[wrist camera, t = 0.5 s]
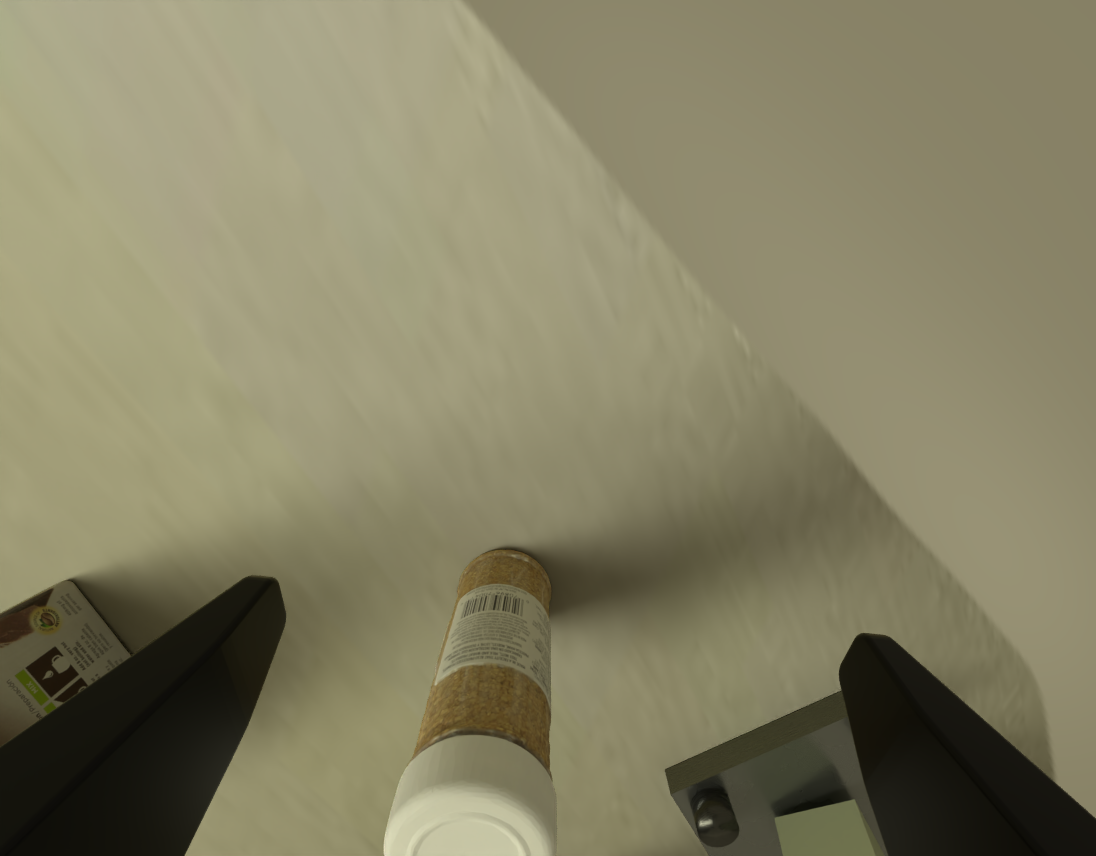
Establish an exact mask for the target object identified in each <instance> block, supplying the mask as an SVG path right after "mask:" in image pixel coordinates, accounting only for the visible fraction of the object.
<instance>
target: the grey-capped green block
mask: <svg viewBox="0 0 1096 856" xmlns="http://www.w3.org/2000/svg"><path fill="white" fill-rule="evenodd" d="M775 823H776V827H777V832H778V836H779V840H780V845H781V849H782V854H783V856H885V855H884V853H883V852H882V850H881V848H880V846H879V844H878V842H877V840H876V838H875V837H874V835H873V833H872V831H871V829H870V827H869V825H868V824H867V822H866V820H865V818H864V816H863V814H862V812H861V810H860V809H859V807H858V805H857V803H856V801H855V799H854V800H849V801H845V802H841V803H836V804H832V805H828V806H823V807H819V808H815V809H810V810H806V811H802V812H797V813H793V814H789V815H784V816H780V817H776V818H775Z"/></svg>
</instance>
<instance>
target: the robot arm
mask: <svg viewBox="0 0 1096 856" xmlns="http://www.w3.org/2000/svg"><path fill="white" fill-rule="evenodd" d="M285 623H286V611H285V606H284V602H283V598H282V594H281V590H280V585H279V582H278V581H277V580H276V579H275V578H273V577H266V576H256V575H251V576H248V577H245V578H244V579H242V580H241V581H239V582H238V583H236V584H235V585H233V586H232V587H230V588H229V589H227V590H226V591H225V592H223V593H222V594H220V595H219V596H217V597H216V598H214V599H213V600H212V601H210V602H209V603H207V604H206V605H204V606H203V607H201V608H200V609H199V610H197V611H196V612H194V613H193V614H191V615H190V616H188V617H187V618H186V619H184V620H183V621H181V622H180V623H178V624H177V625H175V626H174V627H172V628H171V629H170V630H168V631H167V632H165V633H164V634H162V635H161V636H159V637H158V638H157V639H155V640H154V641H152V642H151V643H149V644H148V645H146V646H145V647H144V648H142V649H141V650H139V651H138V652H136V653H135V654H133V655H132V656H131V657H129V658H128V659H126V660H125V661H123V662H122V663H120V664H119V665H117V666H116V667H115V668H113V669H112V670H110V671H109V672H107V673H106V674H104V675H103V676H102V677H100V678H99V679H97V680H96V681H94V682H93V683H91V684H90V685H89V686H87V687H86V688H84V689H83V690H81V691H80V692H78V693H77V694H76V695H74V696H73V697H71V698H70V699H68V700H67V701H65V702H64V703H63V704H61V705H60V706H58V707H57V708H55V709H54V710H52V711H51V712H49V713H48V714H47V715H45V716H44V717H42V718H41V719H39V720H38V721H36V722H35V723H34V724H32V725H31V726H29V727H28V728H26V729H25V730H23V731H22V732H21V733H19V734H18V735H16V736H15V737H13V738H12V739H10V740H9V741H8V742H6V743H5V744H3V745H2V746H0V856H185V854H186V852H187V850H188V848H189V845H190V843H191V841H192V839H193V837H194V835H195V833H196V831H197V829H198V827H199V825H200V823H201V821H202V819H203V817H204V815H205V813H206V811H207V809H208V807H209V805H210V803H211V801H212V799H213V796H214V794H215V792H216V790H217V788H218V786H219V784H220V782H221V780H222V778H223V776H224V774H225V772H226V770H227V768H228V766H229V764H230V762H231V760H232V758H233V756H234V754H235V752H236V750H237V747H238V745H239V743H240V741H241V739H242V737H243V735H244V733H245V730H246V728H247V726H248V724H249V721H250V719H251V716H252V714H253V711H254V709H255V706H256V703H257V700H258V698H259V695H260V692H261V690H262V687H263V684H264V682H265V679H266V676H267V673H268V671H269V668H270V665H271V663H272V660H273V657H274V654H275V652H276V649H277V646H278V644H279V641H280V638H281V636H282V633H283V630H284V627H285ZM839 681H840V686H841V690H842V694H843V698H844V703H845V707H846V711H847V715H848V720H849V724H850V728H851V732H852V736H853V741H854V745H855V749H856V753H857V758H858V762H859V766H860V770H861V774H862V777H863V781H864V785H865V788H866V791H867V794H868V797H869V801H870V804H871V807H872V809H873V812H874V815H875V818H876V821H877V824H878V827H879V830H880V833H881V836H882V839H883V842H884V845H885V847H886V850H887V853H888V856H1096V818H1095V817H1093V816H1092V815H1091V814H1090V813H1089V812H1088V811H1087V810H1086V809H1084V808H1083V807H1082V806H1081V805H1080V804H1079V803H1078V802H1076V801H1075V800H1074V799H1073V798H1072V797H1071V796H1070V795H1068V794H1067V793H1066V792H1065V791H1064V790H1063V789H1062V788H1061V787H1060V786H1058V785H1057V784H1056V783H1055V782H1054V781H1053V780H1052V779H1050V778H1049V777H1048V776H1047V775H1046V774H1045V773H1044V772H1043V771H1041V770H1040V769H1039V768H1038V767H1037V766H1036V765H1035V764H1033V763H1032V762H1031V761H1030V760H1029V759H1028V758H1027V757H1026V756H1024V755H1023V754H1022V753H1021V752H1020V751H1019V750H1018V749H1016V748H1015V747H1014V746H1013V745H1012V744H1011V743H1010V742H1009V741H1007V740H1006V739H1005V738H1004V737H1003V736H1002V735H1001V734H1000V733H998V732H997V731H996V730H995V729H994V728H993V727H992V726H990V725H989V724H988V723H987V722H986V721H985V720H984V719H983V718H981V717H980V716H979V715H978V714H977V713H976V712H975V711H973V710H972V709H971V708H970V707H969V706H968V705H967V704H966V703H964V702H963V701H962V700H961V699H960V698H959V697H958V696H956V695H955V694H954V693H953V692H952V691H951V690H950V689H949V688H947V687H946V686H945V685H944V684H943V683H942V682H941V681H940V680H938V679H937V678H936V677H935V676H934V675H933V674H932V673H930V672H929V671H928V670H927V669H926V668H925V667H924V666H923V665H921V664H920V663H919V662H918V661H917V660H916V659H915V658H913V657H912V656H911V655H910V654H909V653H908V652H907V651H906V650H904V649H903V648H902V647H901V646H900V645H899V644H898V643H896V642H895V641H894V640H893V639H892V638H890V637H888V636H886V635H880V634H869V633H861V634H859V635H857V636H856V638H855V639H854V641H853V643H852V645H851V646H850V648H849V650H848V652H847V654H846V656H845V657H844V659H843V661H842V663H841V665H840V669H839Z"/></svg>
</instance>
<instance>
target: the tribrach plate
mask: <svg viewBox="0 0 1096 856" xmlns="http://www.w3.org/2000/svg"><path fill="white" fill-rule="evenodd" d="M665 773H666V777H667V781H668V785H669V789H670V794H671V796H672V797H673V799H674V801H675V802H676V804H677V805H678V807H679V808H680V810H681V812H682V813H683V815H684V816H685V818H686V819H687V821H688V823H689V824H690V826H691V827H692V829H693V831H694V832H695V834H696V835H697V837H698V838H699V840H700V842H701V843H702V845H703V846H704V848H705V849H706V851H707V853H708V854H709V856H783V854H782V849H781V845H780V840H779V836H778V832H777V827H776V823H775V818H776V817H780V816H784V815H789V814H793V813H797V812H802V811H806V810H810V809H815V808H819V807H823V806H828V805H832V804H836V803H841V802H845V801H849V800H854V799H855V801H856V803H857V805H858V807H859V809H860V810H861V812H862V814H863V816H864V818H865V820H866V822H867V824H868V825H869V827H870V829H871V831H872V833H873V835H874V837H875V838H876V840H877V842H878V844H879V846H880V848H881V850H882V852H883V853H884V855H885V856H888V853H887V850H886V847H885V845H884V842H883V839H882V836H881V833H880V830H879V827H878V824H877V821H876V818H875V815H874V812H873V809H872V807H871V804H870V801H869V797H868V794H867V791H866V788H865V785H864V781H863V777H862V774H861V770H860V766H859V762H858V758H857V753H856V749H855V745H854V741H853V736H852V732H851V728H850V724H849V720H848V715H847V711H846V707H845V703H844V698H843V694H842V691H840V692H838V693H836V694H834V695H831V696H829V697H827V698H825V699H822V700H820V701H818V702H816V703H813V704H811V705H809V706H807V707H804V708H802V709H800V710H798V711H796V712H793V713H791V714H789V715H787V716H784V717H782V718H780V719H778V720H775V721H773V722H771V723H769V724H766V725H764V726H762V727H760V728H758V729H755V730H753V731H751V732H749V733H746V734H744V735H742V736H740V737H737V738H735V739H733V740H731V741H728V742H726V743H724V744H722V745H720V746H717V747H715V748H713V749H711V750H708V751H706V752H704V753H702V754H699V755H697V756H695V757H693V758H690V759H688V760H686V761H684V762H681V763H679V764H677V765H675V766H673V767H670V768H668V769H666V770H665Z"/></svg>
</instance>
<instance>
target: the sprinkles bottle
mask: <svg viewBox="0 0 1096 856" xmlns="http://www.w3.org/2000/svg"><path fill="white" fill-rule="evenodd" d="M457 592H458V597H457V600H456V603H455V607H454V611H453V614H452V618H451V620H450V621H449V623H448V626H447V629H446V632H445V636H444V639H443V642H442V646H441V650H440V653H439V657H438V660H437V664H436V668H435V677H434V680H433V683H432V687H431V691H430V695H429V698H428V701H427V706H426V711H425V714H424V717H423V720H422V724H421V728H420V733H419V737H418V742H417V746H416V748H415V751H414V754H413V757H412V759H411V760H410V762H409V763H408V765H407V767H406V769H405V771H404V773H403V775H402V777H401V779H400V781H399V784H398V787H397V791H396V794H395V798H394V801H393V805H392V808H391V812H390V816H389V820H388V824H387V828H386V833H385V838H384V856H556V848H557V811H556V794H555V789H554V786H553V783H552V776H551V772H550V759H549V755H550V744H549V730H550V724H551V630H550V622H549V603H550V599H551V585H550V581H549V577H548V574H547V573H546V572H545V570H544V569H543V567H542V566H541V565H540V564H539V563H538V562H537V561H536V560H535V559H533V558H531V557H530V556H528V555H526V554H524V553H522V552H518V551H514V550H502V549H501V550H495V551H491V552H486V553H484V554H482V555H480V556H479V557H477V558H476V559H474V560H473V561H472V562H470V564H469V565H468V566H467V567H466V569H465V570H464V571H463V573H462V575H461V577H460V580H459V586H458V591H457Z"/></svg>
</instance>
